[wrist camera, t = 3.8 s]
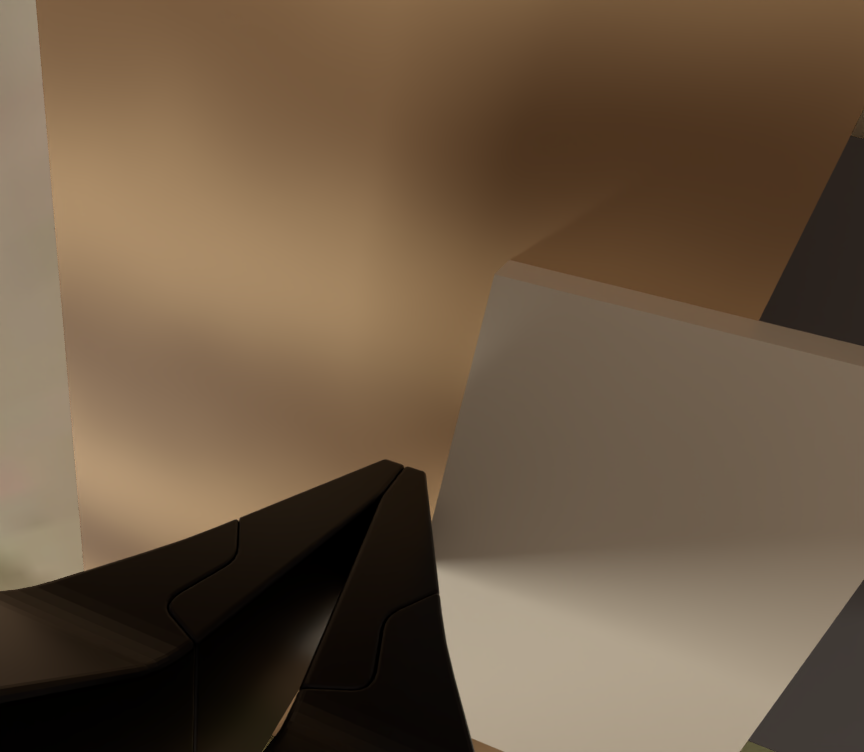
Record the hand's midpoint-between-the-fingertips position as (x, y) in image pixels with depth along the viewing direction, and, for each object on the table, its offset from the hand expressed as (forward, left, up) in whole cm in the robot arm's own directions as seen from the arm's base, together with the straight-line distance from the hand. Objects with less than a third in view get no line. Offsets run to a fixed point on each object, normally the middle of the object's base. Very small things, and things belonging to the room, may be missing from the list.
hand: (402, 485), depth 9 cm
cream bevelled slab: (0, -4, -1) cm, 4 cm away
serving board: (0, +2, -5) cm, 6 cm away
